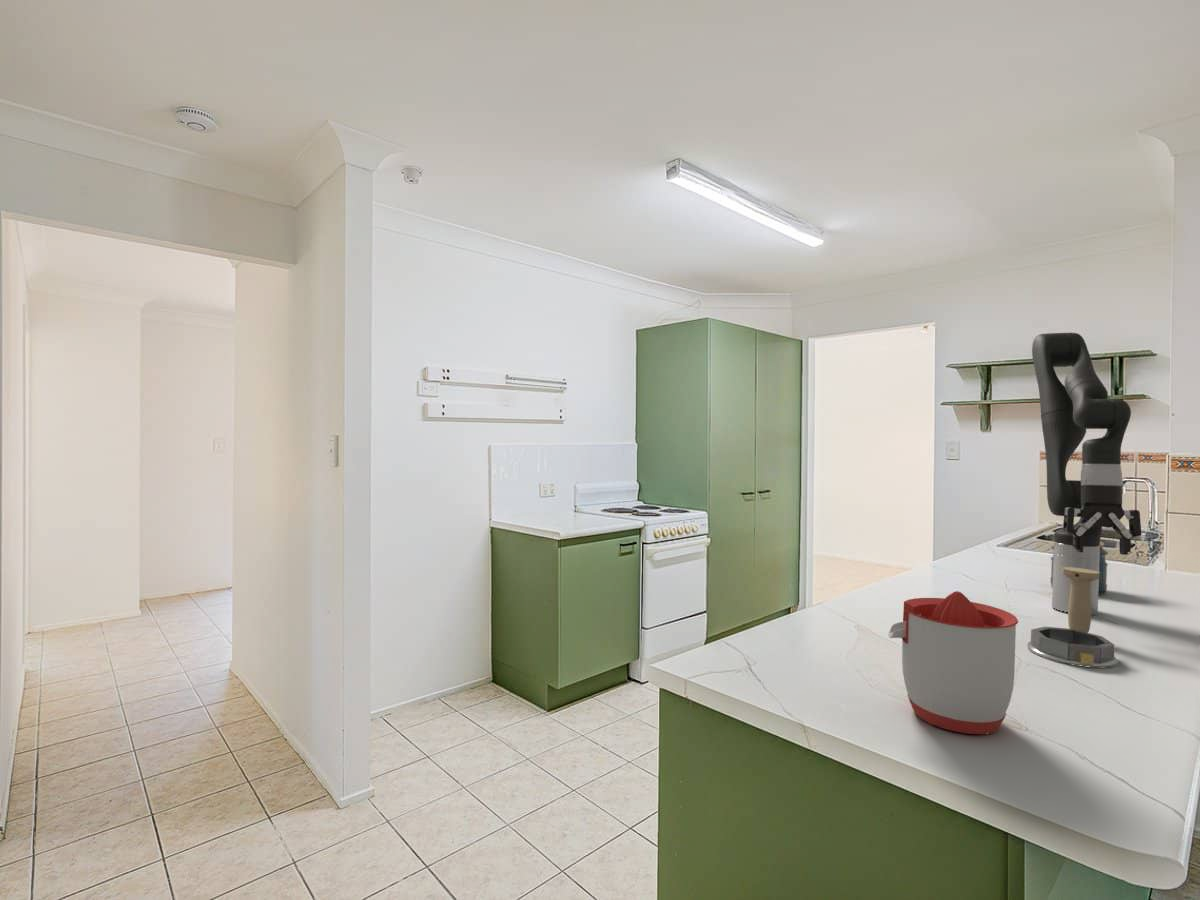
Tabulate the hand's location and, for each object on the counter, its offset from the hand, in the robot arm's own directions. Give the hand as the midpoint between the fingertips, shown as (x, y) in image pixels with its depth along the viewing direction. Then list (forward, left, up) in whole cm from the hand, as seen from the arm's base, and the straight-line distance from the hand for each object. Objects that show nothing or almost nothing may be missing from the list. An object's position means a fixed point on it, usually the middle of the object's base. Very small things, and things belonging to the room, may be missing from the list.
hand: (1101, 553), depth 142 cm
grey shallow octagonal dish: (+25, -14, -17) cm, 33 cm away
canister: (-39, +10, -17) cm, 44 cm away
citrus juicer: (+65, -44, -17) cm, 80 cm away
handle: (+12, -8, -17) cm, 23 cm away
